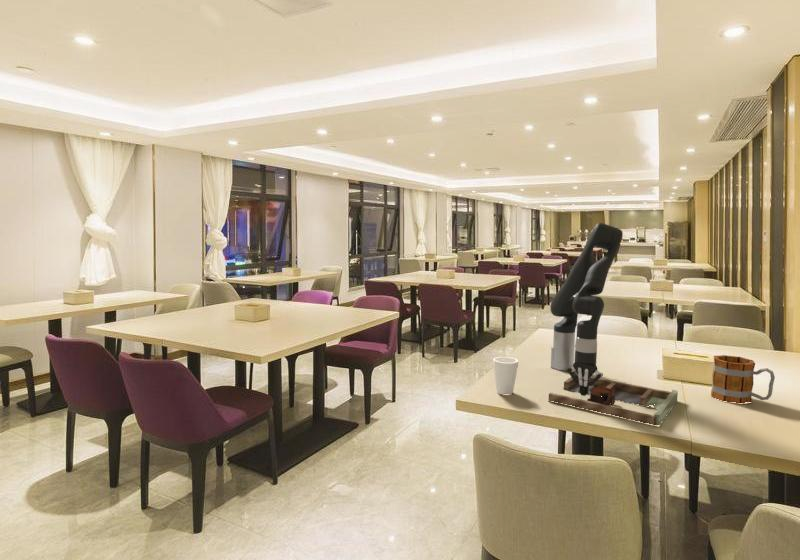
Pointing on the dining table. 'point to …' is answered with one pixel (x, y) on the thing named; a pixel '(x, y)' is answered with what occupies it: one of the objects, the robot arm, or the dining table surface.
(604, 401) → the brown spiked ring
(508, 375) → the foam cup
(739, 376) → the mug
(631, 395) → the wooden divided tray
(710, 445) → the dining table surface
